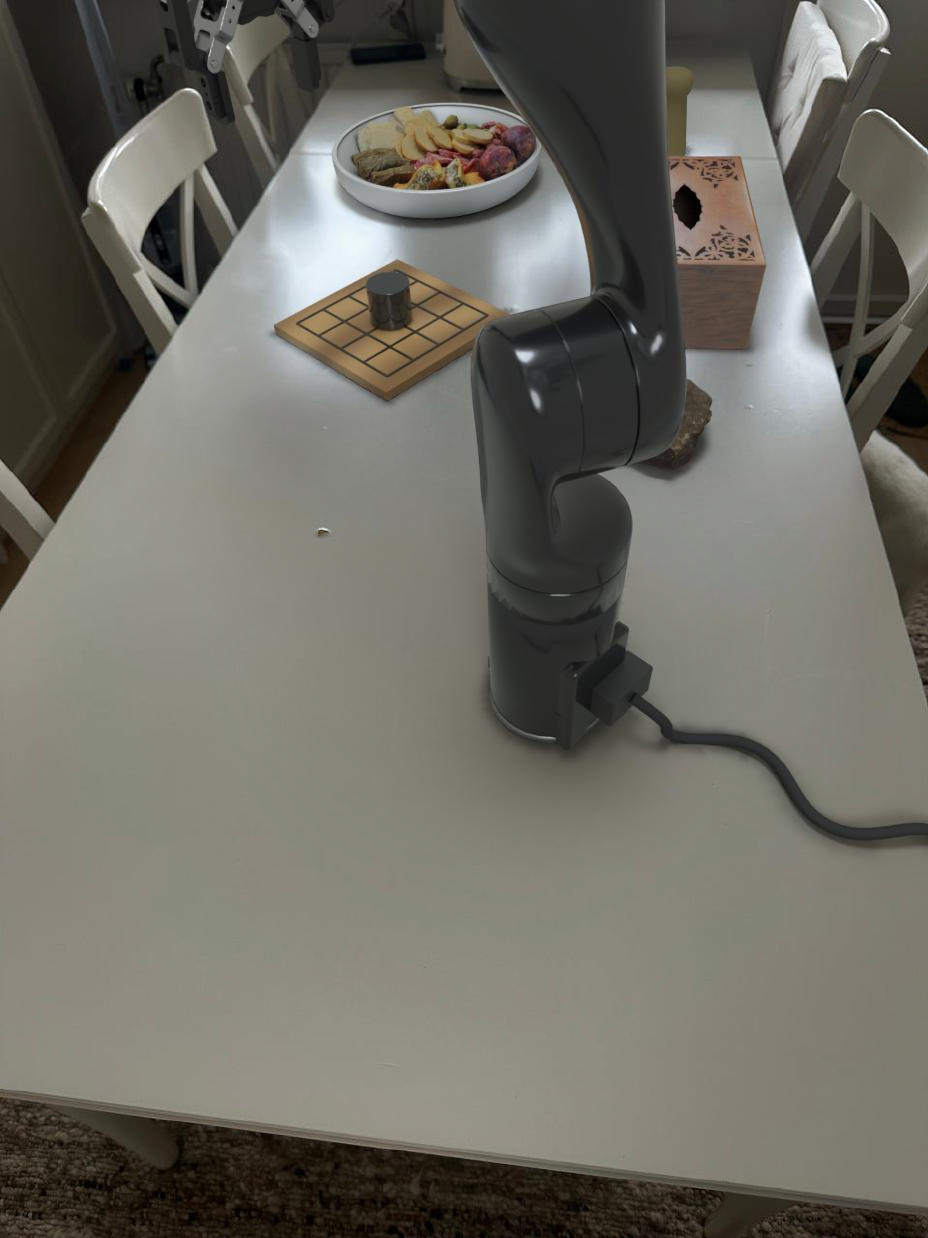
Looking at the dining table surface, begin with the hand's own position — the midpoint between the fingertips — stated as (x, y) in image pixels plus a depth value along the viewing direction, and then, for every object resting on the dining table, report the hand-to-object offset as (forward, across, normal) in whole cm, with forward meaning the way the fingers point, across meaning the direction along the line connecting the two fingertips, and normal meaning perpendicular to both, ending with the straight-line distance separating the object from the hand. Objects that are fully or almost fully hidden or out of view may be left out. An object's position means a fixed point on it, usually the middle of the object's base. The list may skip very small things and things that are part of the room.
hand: (268, 104), depth 70 cm
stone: (+30, +18, -27) cm, 44 cm away
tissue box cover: (+30, +44, -14) cm, 55 cm away
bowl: (+30, +46, +30) cm, 63 cm away
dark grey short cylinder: (+29, +15, +6) cm, 33 cm away
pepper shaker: (+30, +74, +10) cm, 80 cm away
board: (+30, +15, +6) cm, 34 cm away
